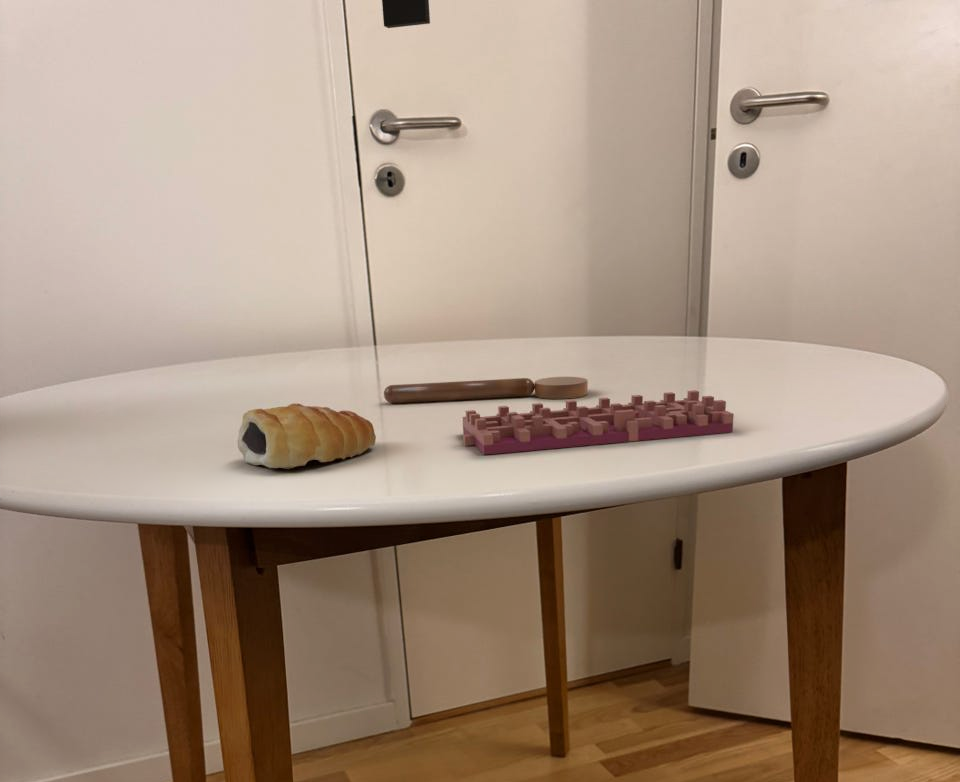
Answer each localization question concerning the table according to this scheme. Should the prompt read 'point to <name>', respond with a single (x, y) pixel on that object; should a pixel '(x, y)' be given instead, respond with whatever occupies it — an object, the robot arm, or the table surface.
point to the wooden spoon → (488, 389)
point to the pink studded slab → (596, 423)
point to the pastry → (302, 435)
